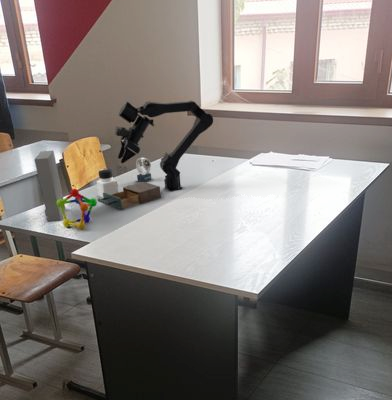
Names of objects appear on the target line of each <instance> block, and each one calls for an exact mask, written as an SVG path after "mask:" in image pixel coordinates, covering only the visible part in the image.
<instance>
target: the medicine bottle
mask: <svg viewBox="0 0 392 400" xmlns="http://www.w3.org/2000/svg"><path fill="white" fill-rule="evenodd" d="M98 177H99V178H98V180H96V186H97V187H96V188H97V193H98V197H99V198H101V199H103V193H107V194H110V195H112V194H115V193H119V186H118V180H116V179H114V175H113V170H112V169H110V168H102V169H100V170H99V171H98Z"/></svg>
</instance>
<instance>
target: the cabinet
mask: <svg viewBox="0 0 392 400" xmlns="http://www.w3.org/2000/svg"><path fill="white" fill-rule="evenodd" d="M125 190H127V191H130V192H133V193H136V194H139V200H140V203H139V204H140V205H142V204H145V203H148V202H151V201H155V200H157V199H161V198H162V196H161V193H162V192H161V186H160V185H157V184H152V183H149V182H136V183H134V184H130V185H126V186H123V187H122V191H125Z"/></svg>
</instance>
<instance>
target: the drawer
mask: <svg viewBox="0 0 392 400" xmlns="http://www.w3.org/2000/svg"><path fill="white" fill-rule="evenodd" d="M97 203H100V204H104V205H106V206H110V207H113V208H116V209H119V210H123V208H128V207H130V206H134V205H136V204H137V205H138V204H140V200H139V194H136V193H133V192H130V191H127V190H125V191H123V190H122V191H118V193H115V194H112V195H110V194H107V193H103V198H101V197H99V198H97Z"/></svg>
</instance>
